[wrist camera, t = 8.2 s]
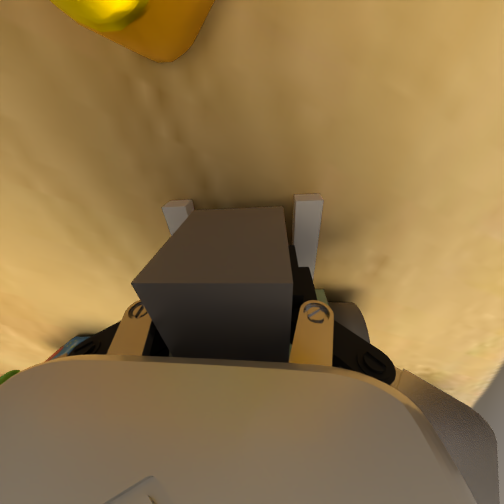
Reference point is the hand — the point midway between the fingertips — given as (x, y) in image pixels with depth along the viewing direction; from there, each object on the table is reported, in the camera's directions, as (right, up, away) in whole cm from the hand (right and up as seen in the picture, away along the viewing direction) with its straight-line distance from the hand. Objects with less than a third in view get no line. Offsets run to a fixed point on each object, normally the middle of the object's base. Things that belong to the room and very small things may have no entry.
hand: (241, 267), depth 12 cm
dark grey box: (0, 0, +1) cm, 1 cm away
